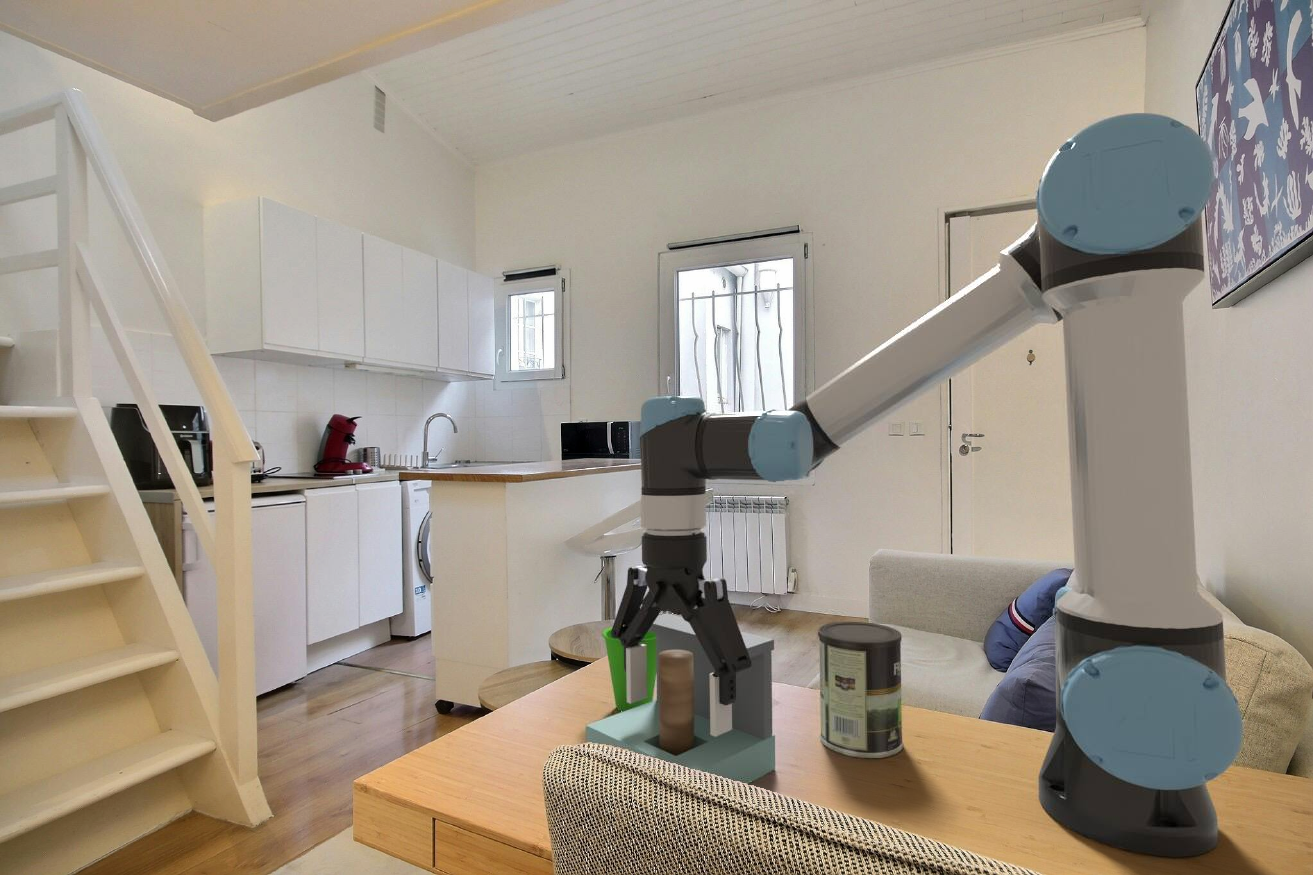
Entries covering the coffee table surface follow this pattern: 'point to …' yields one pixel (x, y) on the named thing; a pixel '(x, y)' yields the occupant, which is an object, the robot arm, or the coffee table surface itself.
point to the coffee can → (860, 689)
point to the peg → (676, 701)
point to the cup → (619, 673)
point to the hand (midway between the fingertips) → (676, 715)
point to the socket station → (705, 712)
